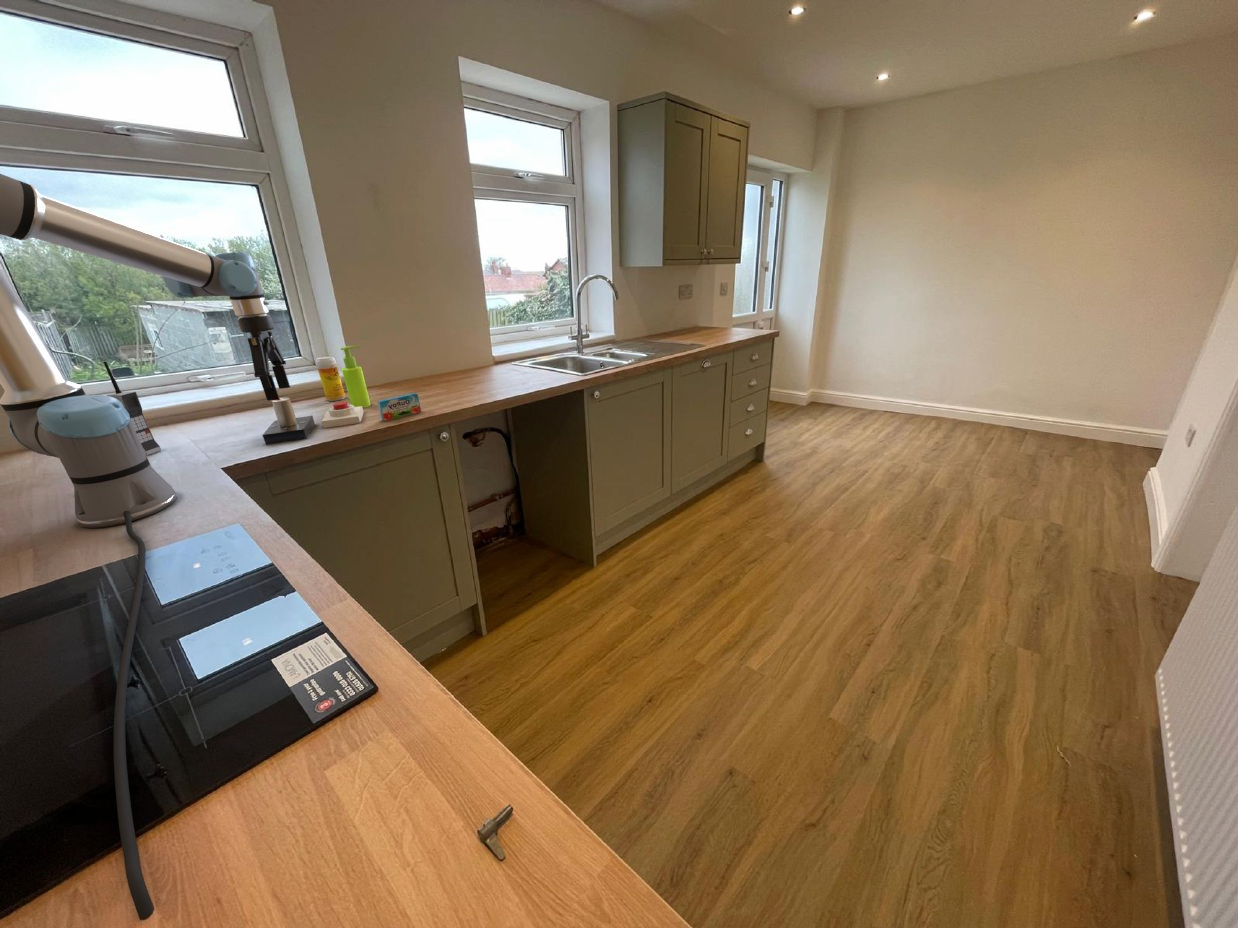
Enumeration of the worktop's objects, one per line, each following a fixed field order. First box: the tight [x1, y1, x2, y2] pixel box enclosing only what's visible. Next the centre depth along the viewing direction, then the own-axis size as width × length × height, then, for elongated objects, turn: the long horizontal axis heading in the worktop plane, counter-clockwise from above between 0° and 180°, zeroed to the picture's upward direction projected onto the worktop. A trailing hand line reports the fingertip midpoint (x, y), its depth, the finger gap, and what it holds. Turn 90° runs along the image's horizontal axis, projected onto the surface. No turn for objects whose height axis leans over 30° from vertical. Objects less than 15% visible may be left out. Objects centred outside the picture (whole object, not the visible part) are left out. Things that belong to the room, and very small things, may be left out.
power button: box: [332, 401, 349, 410], centre depth 155 cm, size 4×4×2 cm
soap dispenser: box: [340, 345, 372, 409], centre depth 167 cm, size 6×7×20 cm
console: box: [262, 415, 316, 446], centre depth 145 cm, size 14×10×3 cm
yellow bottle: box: [315, 355, 346, 402], centre depth 178 cm, size 6×6×15 cm
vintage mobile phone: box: [102, 361, 162, 456], centre depth 132 cm, size 4×5×25 cm
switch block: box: [321, 404, 364, 429], centre depth 156 cm, size 12×10×4 cm
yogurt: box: [377, 392, 422, 422], centre depth 156 cm, size 12×2×6 cm, turn 136°
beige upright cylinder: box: [271, 396, 297, 427], centre depth 143 cm, size 4×4×8 cm
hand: (279, 393), depth 141 cm, fingers open, 13 cm apart
